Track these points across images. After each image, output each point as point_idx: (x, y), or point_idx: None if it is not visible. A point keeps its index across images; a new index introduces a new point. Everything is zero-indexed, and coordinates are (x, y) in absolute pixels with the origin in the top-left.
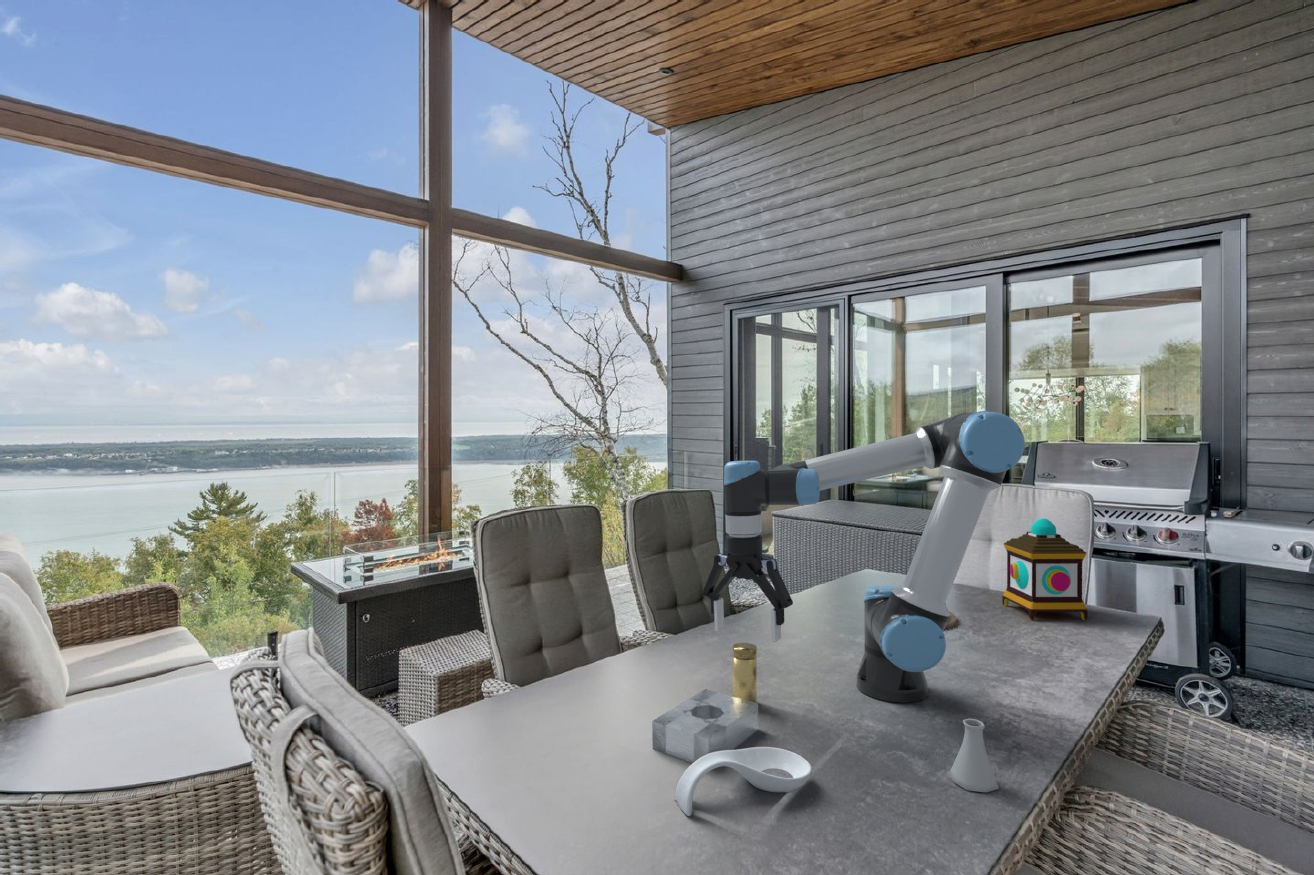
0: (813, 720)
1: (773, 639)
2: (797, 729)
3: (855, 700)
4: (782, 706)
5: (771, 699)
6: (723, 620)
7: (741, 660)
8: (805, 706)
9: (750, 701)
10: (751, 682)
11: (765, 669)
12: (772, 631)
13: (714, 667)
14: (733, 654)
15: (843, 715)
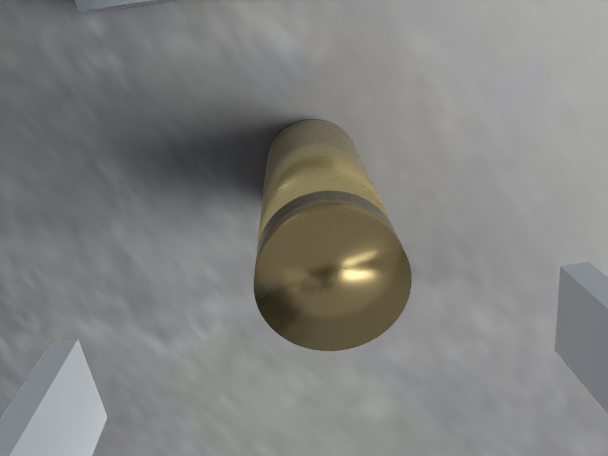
0: (77, 247)
1: (58, 352)
2: (61, 152)
3: None
4: (222, 265)
5: None
6: (591, 386)
7: (302, 195)
8: (168, 314)
9: (121, 3)
10: (265, 189)
11: (445, 447)
12: (39, 394)
13: None
14: (372, 207)
15: (42, 338)
